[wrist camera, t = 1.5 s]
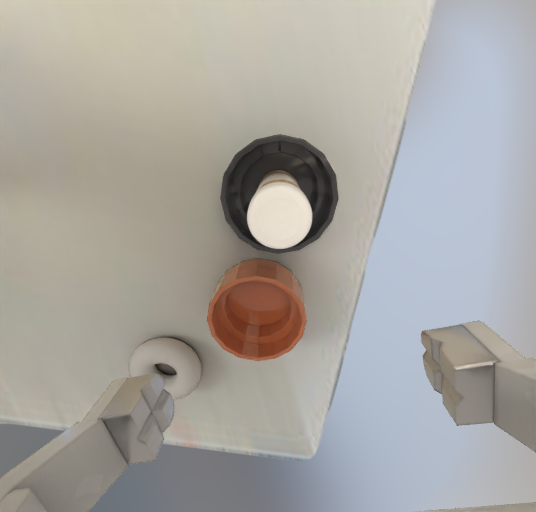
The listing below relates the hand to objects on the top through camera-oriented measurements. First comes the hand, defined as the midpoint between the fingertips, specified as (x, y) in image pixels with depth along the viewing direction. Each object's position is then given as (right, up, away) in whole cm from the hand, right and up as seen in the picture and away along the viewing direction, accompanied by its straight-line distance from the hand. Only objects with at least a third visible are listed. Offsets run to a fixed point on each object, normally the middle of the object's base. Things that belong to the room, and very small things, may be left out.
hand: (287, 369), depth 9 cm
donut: (-15, -12, +33) cm, 38 cm away
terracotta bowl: (-2, -2, +28) cm, 29 cm away
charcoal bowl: (+1, +11, +23) cm, 26 cm away
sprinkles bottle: (+1, +11, +23) cm, 26 cm away
